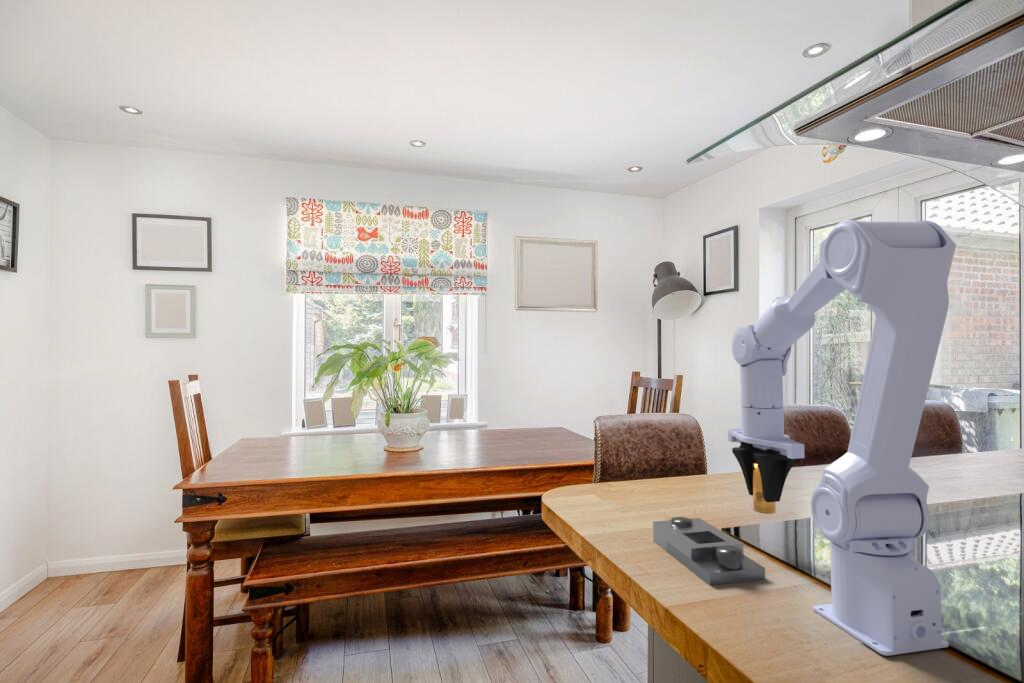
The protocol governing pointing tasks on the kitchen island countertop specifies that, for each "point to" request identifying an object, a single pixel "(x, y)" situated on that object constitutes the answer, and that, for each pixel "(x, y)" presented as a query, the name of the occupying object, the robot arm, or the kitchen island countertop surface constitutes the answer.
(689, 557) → the gray slab
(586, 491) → the kitchen island countertop surface
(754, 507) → the pin
